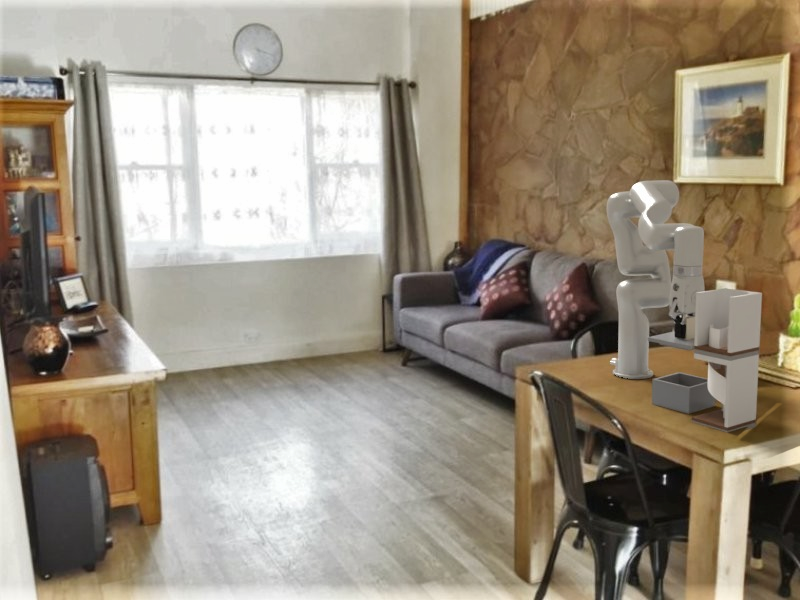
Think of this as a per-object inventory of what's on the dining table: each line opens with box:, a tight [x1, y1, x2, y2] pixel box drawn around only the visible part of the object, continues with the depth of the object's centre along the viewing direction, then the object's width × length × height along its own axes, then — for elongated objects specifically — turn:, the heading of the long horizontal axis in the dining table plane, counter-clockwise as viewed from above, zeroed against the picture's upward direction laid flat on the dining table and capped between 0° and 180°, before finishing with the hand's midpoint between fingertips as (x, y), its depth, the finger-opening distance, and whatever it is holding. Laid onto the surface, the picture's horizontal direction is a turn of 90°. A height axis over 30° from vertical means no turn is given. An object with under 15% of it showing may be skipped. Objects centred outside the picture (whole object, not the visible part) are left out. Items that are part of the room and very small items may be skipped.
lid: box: [648, 315, 695, 352], centre depth 212 cm, size 14×14×8 cm
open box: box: [651, 371, 717, 415], centre depth 214 cm, size 12×12×8 cm
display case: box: [691, 287, 763, 433], centre depth 196 cm, size 11×11×35 cm
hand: (684, 336), depth 212 cm, fingers closed on lid, 3 cm apart
